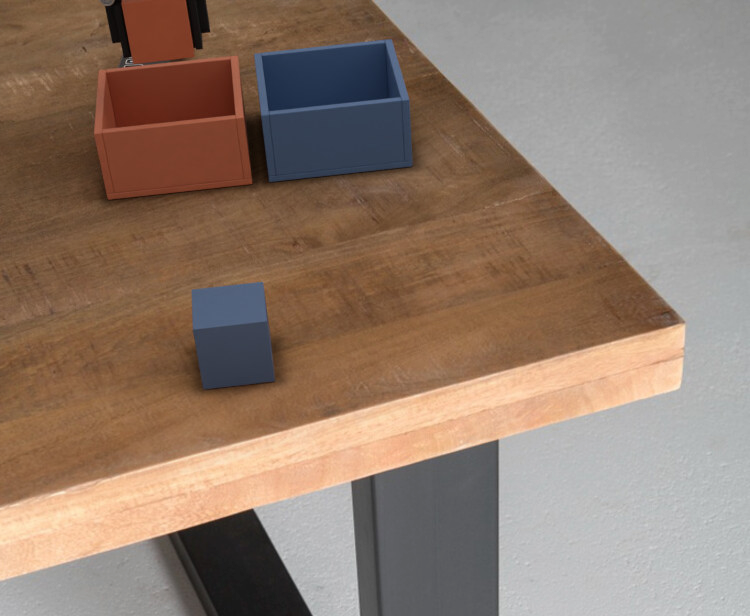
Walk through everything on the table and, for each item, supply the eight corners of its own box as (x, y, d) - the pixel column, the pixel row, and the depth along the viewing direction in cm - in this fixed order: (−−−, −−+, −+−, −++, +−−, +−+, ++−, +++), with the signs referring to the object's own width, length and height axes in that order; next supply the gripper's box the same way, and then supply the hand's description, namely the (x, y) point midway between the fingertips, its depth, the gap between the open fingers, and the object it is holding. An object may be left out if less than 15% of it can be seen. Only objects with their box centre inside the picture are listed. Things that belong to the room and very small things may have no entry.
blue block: (203, 390, 90) (192, 329, 87) (201, 349, 93) (191, 289, 90) (275, 381, 90) (267, 321, 87) (271, 341, 93) (263, 281, 90)
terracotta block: (133, 64, 105) (121, 3, 102) (134, 39, 109) (122, -22, 105) (194, 57, 105) (184, -4, 102) (193, 32, 109) (183, -28, 106)
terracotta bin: (107, 200, 109) (93, 133, 105) (111, 133, 117) (98, 69, 113) (252, 184, 109) (243, 117, 105) (246, 119, 117) (237, 55, 114)
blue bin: (269, 182, 109) (260, 115, 105) (261, 117, 117) (253, 53, 114) (412, 166, 110) (409, 99, 106) (395, 103, 118) (391, 38, 114)
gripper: (-16, -190, 91) (49, 80, 104) (245, -218, 92) (277, 54, 104) (-6, -222, 97) (54, 38, 109) (240, -248, 97) (271, 14, 110)
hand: (163, 43), depth 107 cm, fingers closed on terracotta block, 4 cm apart
